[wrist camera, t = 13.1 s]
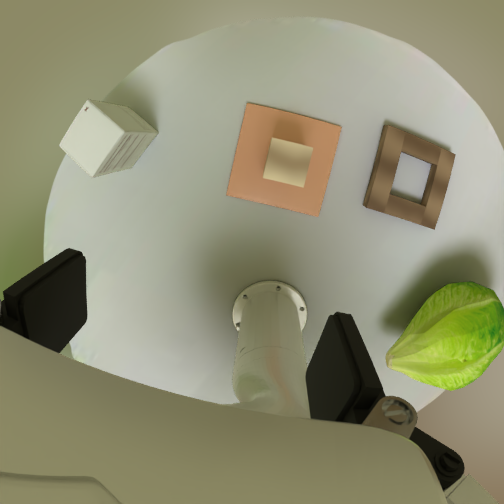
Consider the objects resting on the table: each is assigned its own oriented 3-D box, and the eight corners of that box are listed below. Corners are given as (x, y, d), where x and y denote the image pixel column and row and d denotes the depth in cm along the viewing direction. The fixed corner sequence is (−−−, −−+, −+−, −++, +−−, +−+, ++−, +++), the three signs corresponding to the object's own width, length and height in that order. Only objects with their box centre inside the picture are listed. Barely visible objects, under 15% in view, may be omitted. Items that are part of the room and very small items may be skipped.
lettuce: (370, 287, 49) (407, 345, 33) (483, 254, 46) (538, 292, 30) (374, 366, 55) (399, 429, 39) (475, 332, 52) (514, 378, 36)
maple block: (296, 180, 44) (303, 187, 36) (263, 172, 44) (262, 177, 36) (305, 147, 42) (313, 147, 34) (270, 139, 42) (272, 137, 34)
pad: (317, 216, 46) (318, 216, 45) (226, 194, 45) (226, 195, 45) (340, 127, 41) (341, 127, 41) (247, 103, 41) (247, 102, 40)
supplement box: (102, 142, 43) (56, 145, 31) (129, 105, 41) (87, 96, 29) (131, 169, 45) (91, 180, 33) (160, 133, 43) (125, 130, 31)
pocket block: (428, 226, 45) (434, 229, 44) (362, 205, 45) (366, 207, 43) (449, 153, 41) (455, 154, 39) (383, 125, 41) (388, 124, 39)
